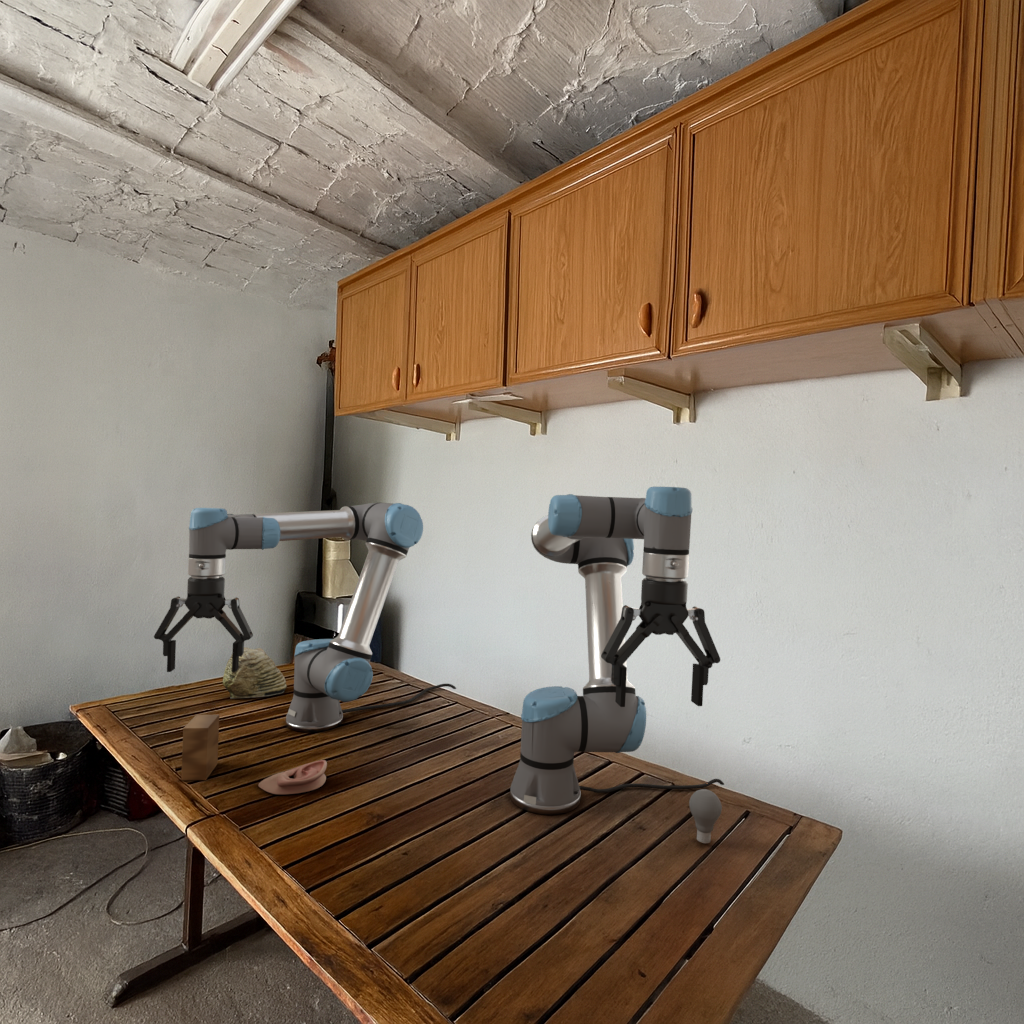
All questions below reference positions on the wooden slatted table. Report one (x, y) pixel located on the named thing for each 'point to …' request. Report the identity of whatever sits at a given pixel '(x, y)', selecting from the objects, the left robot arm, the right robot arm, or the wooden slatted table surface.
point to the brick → (200, 747)
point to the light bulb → (705, 812)
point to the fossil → (253, 676)
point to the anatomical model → (296, 779)
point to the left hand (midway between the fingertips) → (203, 670)
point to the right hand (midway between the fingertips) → (658, 704)
